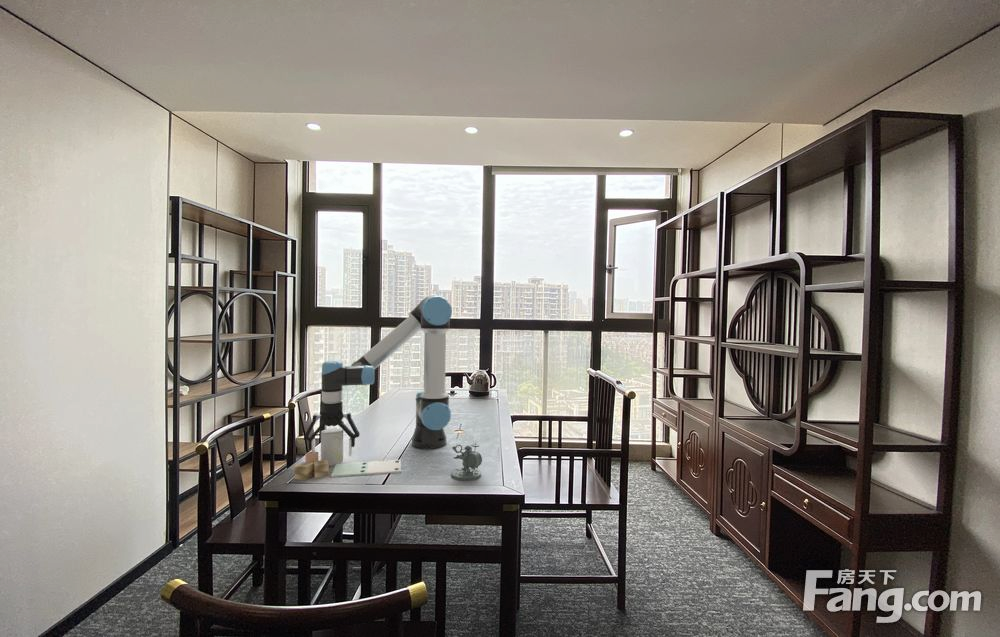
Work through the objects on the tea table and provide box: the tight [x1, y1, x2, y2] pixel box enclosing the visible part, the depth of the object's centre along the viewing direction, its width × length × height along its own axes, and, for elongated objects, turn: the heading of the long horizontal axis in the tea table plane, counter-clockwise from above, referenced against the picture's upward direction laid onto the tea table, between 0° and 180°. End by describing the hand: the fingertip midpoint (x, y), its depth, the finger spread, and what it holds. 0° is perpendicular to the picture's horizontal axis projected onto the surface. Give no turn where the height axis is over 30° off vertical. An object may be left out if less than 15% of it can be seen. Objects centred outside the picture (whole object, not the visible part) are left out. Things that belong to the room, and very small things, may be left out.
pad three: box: [330, 461, 370, 478], centre depth 166 cm, size 12×12×1 cm
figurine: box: [451, 442, 483, 482], centre depth 161 cm, size 11×11×12 cm
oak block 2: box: [313, 459, 329, 479], centre depth 161 cm, size 4×4×4 cm
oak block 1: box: [294, 461, 314, 481], centre depth 158 cm, size 4×4×4 cm
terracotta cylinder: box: [304, 451, 319, 463], centre depth 166 cm, size 4×4×6 cm
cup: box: [320, 427, 344, 467], centre depth 174 cm, size 8×8×12 cm
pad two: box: [366, 459, 402, 476], centre depth 168 cm, size 12×12×1 cm
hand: (332, 456), depth 174 cm, fingers open, 13 cm apart
